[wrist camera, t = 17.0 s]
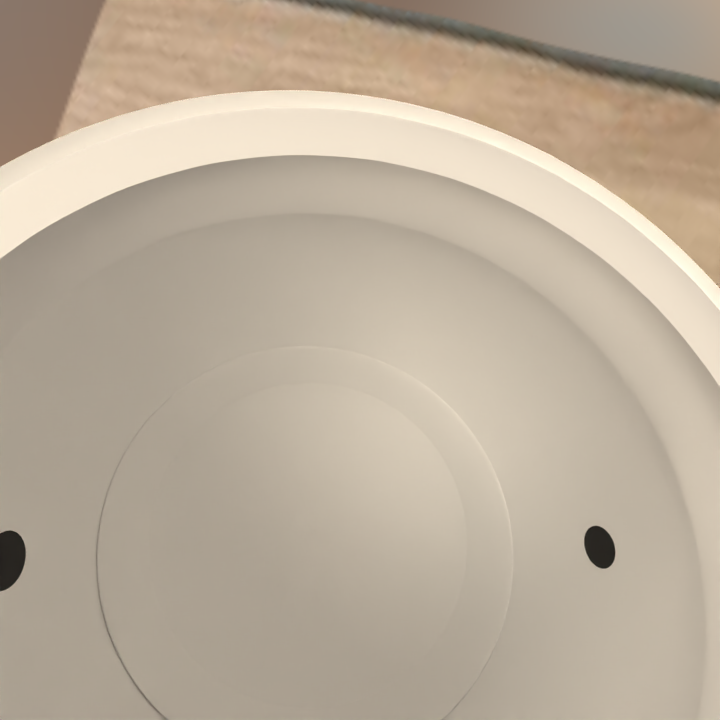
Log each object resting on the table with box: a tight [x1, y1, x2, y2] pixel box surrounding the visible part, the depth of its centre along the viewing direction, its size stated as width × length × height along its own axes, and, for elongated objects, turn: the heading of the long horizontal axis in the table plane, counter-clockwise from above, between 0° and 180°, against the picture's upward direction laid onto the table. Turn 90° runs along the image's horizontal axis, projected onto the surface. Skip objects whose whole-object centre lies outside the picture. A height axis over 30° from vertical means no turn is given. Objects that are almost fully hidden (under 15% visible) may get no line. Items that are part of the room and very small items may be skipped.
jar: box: [0, 90, 720, 720], centre depth 13 cm, size 11×10×15 cm
